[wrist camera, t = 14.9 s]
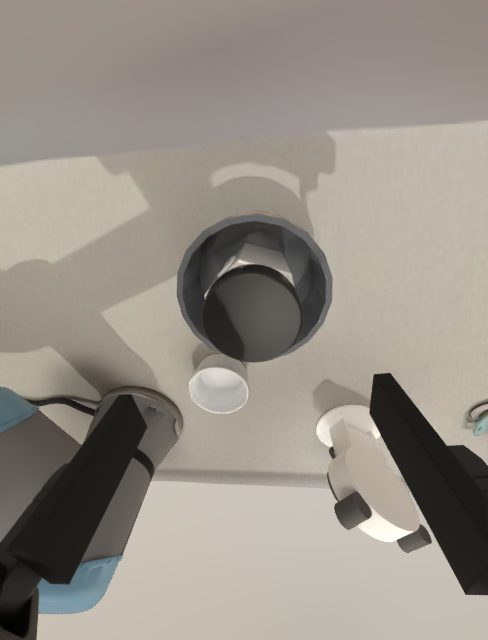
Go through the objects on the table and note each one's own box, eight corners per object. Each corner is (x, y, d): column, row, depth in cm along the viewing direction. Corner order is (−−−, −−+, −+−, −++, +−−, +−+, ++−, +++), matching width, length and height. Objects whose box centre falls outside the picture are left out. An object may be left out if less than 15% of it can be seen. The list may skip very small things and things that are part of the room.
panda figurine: (300, 431, 42) (318, 538, 29) (341, 393, 37) (386, 499, 24) (352, 455, 44) (391, 564, 31) (397, 421, 39) (467, 534, 26)
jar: (257, 226, 26) (255, 242, 15) (303, 275, 28) (330, 320, 18) (207, 279, 29) (177, 324, 19) (252, 320, 32) (248, 380, 21)
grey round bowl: (209, 333, 34) (196, 365, 27) (182, 222, 27) (156, 228, 20) (315, 323, 32) (330, 355, 25) (315, 201, 25) (334, 201, 18)
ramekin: (186, 355, 36) (177, 374, 32) (241, 344, 34) (238, 362, 30) (206, 396, 40) (200, 417, 36) (256, 388, 38) (255, 409, 34)
